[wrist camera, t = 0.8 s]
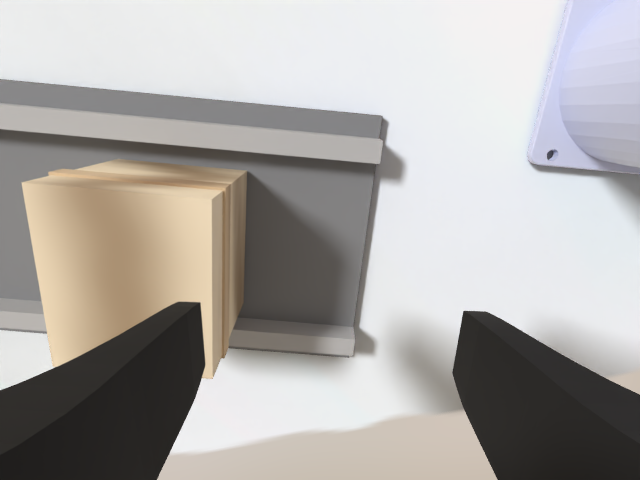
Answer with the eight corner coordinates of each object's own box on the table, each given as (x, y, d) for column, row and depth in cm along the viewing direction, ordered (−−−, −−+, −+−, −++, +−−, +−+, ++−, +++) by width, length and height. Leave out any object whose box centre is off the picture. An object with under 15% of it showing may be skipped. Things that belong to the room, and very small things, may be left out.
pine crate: (249, 168, 18) (215, 196, 12) (245, 304, 20) (215, 381, 14) (115, 156, 18) (17, 179, 12) (128, 294, 20) (50, 368, 14)
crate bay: (381, 115, 17) (386, 116, 16) (348, 353, 22) (350, 371, 20) (-154, 64, 17) (-201, 60, 15) (-79, 319, 21) (-111, 335, 20)
